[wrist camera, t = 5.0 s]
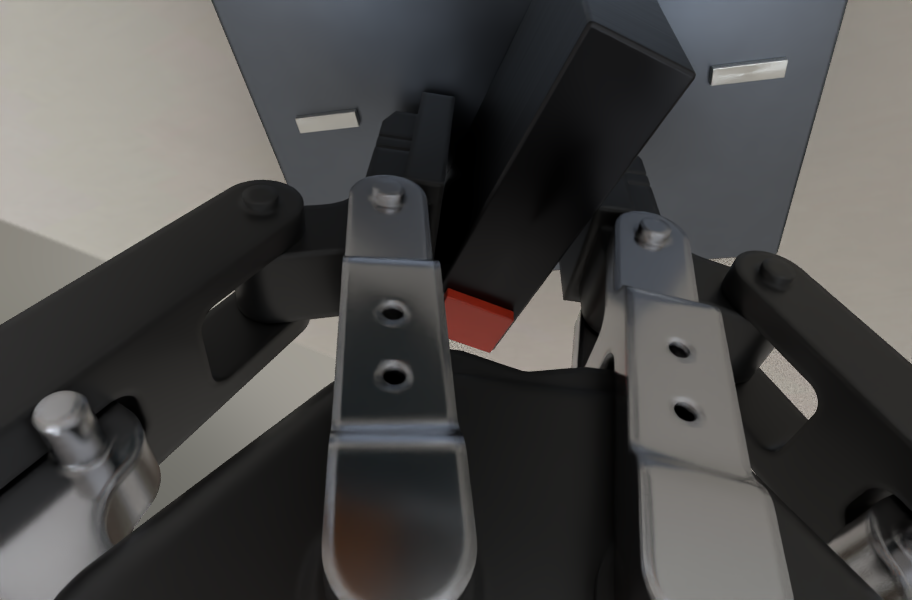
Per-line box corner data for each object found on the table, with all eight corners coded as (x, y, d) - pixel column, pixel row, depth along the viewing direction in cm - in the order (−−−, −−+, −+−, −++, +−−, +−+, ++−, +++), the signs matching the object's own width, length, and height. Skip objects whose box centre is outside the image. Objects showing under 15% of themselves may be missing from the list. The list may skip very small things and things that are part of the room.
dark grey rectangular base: (848, -303, 10) (943, -311, 8) (744, 192, 17) (779, 262, 15) (212, -171, 12) (143, -148, 10) (350, 226, 19) (328, 294, 17)
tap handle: (565, -71, 10) (592, 26, 7) (643, -29, 11) (703, 83, 7) (438, 191, 14) (414, 335, 11) (497, 215, 15) (492, 361, 11)
